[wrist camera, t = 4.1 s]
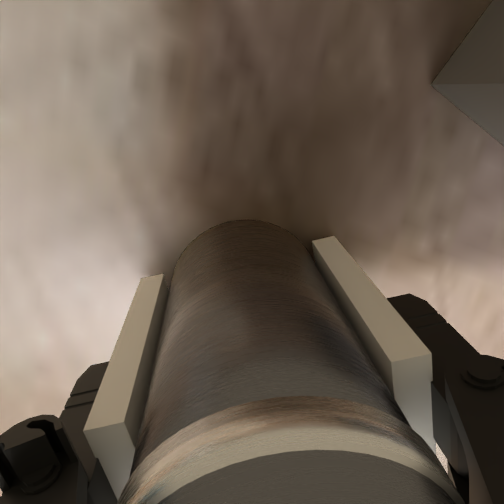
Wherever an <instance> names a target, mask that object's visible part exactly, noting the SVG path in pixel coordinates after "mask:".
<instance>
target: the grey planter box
mask: <svg viewBox="0 0 504 504" xmlns="http://www.w3.org/2000/svg"><path fill="white" fill-rule="evenodd" d="M431 86H433V87H434V88H435V89H436V90H437V91H438V92H440V93H441V94H442V95H443V96H444V97H446V98H447V99H448V100H449V101H450V102H452V103H453V104H454V105H455V106H456V107H458V108H459V109H460V110H461V111H462V112H464V113H465V114H466V115H467V116H468V117H470V118H471V119H472V120H473V121H474V122H476V123H477V124H478V125H479V126H480V127H482V128H483V129H484V130H485V131H486V132H488V133H489V134H490V135H491V136H492V137H493V138H495V139H496V140H497V141H498V142H499V143H501V144H502V145H503V146H504V0H493V1H492V2H491V4H490V5H489V6H488V8H487V9H486V10H485V12H484V13H483V14H482V16H481V17H480V18H479V20H478V21H477V23H476V24H475V25H474V27H473V28H472V29H471V31H470V32H469V33H468V35H467V36H466V37H465V39H464V40H463V42H462V43H461V44H460V46H459V47H458V48H457V50H456V51H455V52H454V54H453V55H452V56H451V58H450V59H449V60H448V62H447V63H446V65H445V66H444V67H443V69H442V70H441V71H440V73H439V74H438V75H437V77H436V78H435V79H434V81H433V82H432V84H431Z"/></svg>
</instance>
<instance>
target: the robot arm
mask: <svg viewBox="0 0 504 504" xmlns="http://www.w3.org/2000/svg"><path fill="white" fill-rule="evenodd" d="M312 245H313V252H314V258H315V264H316V266H317V268H318V269H319V271H320V273H321V275H322V276H323V278H324V280H325V281H326V283H327V285H328V286H329V288H330V290H331V292H332V293H333V295H334V297H335V298H336V300H337V302H338V303H339V305H340V307H341V309H342V310H343V312H344V314H345V315H346V317H347V319H348V320H349V322H350V324H351V326H352V327H353V329H354V331H355V332H356V334H357V336H358V337H359V339H360V341H361V343H362V344H363V346H364V348H365V349H366V351H367V353H368V354H369V356H370V358H371V360H372V361H373V363H374V365H375V366H376V368H377V370H378V371H379V373H380V375H381V377H382V378H383V380H384V382H385V383H386V385H387V387H388V388H389V390H390V392H391V394H392V395H393V397H394V399H395V400H396V402H397V404H398V405H399V407H400V409H401V411H402V412H403V414H404V416H405V417H406V419H407V421H408V422H409V424H410V426H411V428H412V429H413V430H414V431H415V432H416V433H418V434H419V435H420V436H421V437H422V438H423V439H424V440H425V442H426V443H427V444H428V445H429V446H430V448H431V449H432V450H433V451H434V453H435V455H436V442H437V444H438V446H439V447H440V449H441V450H442V452H443V453H444V455H445V457H446V458H447V461H448V476H449V478H450V479H451V481H452V483H453V484H454V486H455V488H456V489H457V491H458V492H459V494H460V496H461V497H462V499H463V501H464V502H465V504H504V360H503V359H500V358H496V357H492V356H488V355H480V354H479V353H478V352H477V351H476V350H475V349H474V348H473V347H472V346H471V345H470V344H469V343H468V342H467V341H466V340H465V339H464V338H463V337H462V336H461V335H460V334H459V333H458V332H457V331H456V330H455V329H454V328H453V327H452V326H451V325H450V324H449V323H447V322H446V320H445V319H444V318H443V317H442V316H441V315H440V314H438V313H437V311H436V310H435V309H434V308H433V307H432V306H431V305H430V304H429V303H428V302H427V301H425V300H423V299H421V298H418V297H416V296H414V295H412V294H405V295H400V296H396V297H391V298H387V299H386V298H385V296H384V295H383V294H382V293H381V292H380V290H379V289H378V288H377V287H376V286H375V284H374V283H373V282H372V281H371V280H370V278H369V277H368V276H367V275H366V274H365V272H364V271H363V270H362V269H361V268H360V266H359V265H358V264H357V263H356V261H355V260H354V259H353V258H352V257H351V255H350V254H349V253H348V252H347V251H346V249H345V248H344V247H343V246H342V245H341V243H340V242H339V241H338V240H337V239H336V237H335V236H331V237H327V238H322V239H318V240H313V241H312ZM168 296H169V289H168V286H167V283H166V280H165V276H164V274H159V275H154V276H150V277H145V278H141V280H140V282H139V285H138V288H137V290H136V293H135V296H134V298H133V301H132V303H131V306H130V309H129V311H128V314H127V317H126V319H125V322H124V324H123V327H122V330H121V332H120V335H119V338H118V340H117V343H116V345H115V348H114V351H113V353H112V356H111V359H110V361H109V362H104V363H100V364H95V365H91V366H90V367H89V368H88V369H87V370H86V371H85V372H84V373H83V374H82V375H81V376H80V377H79V379H78V380H77V381H76V384H75V386H74V388H73V390H72V392H71V394H70V396H71V397H70V398H69V399H68V401H67V403H66V405H65V410H63V411H62V414H61V416H60V418H57V417H56V416H54V415H40V416H36V417H32V418H29V419H26V420H24V421H22V422H20V423H18V424H16V425H14V426H13V427H11V428H10V429H9V430H7V431H6V432H4V433H3V434H2V435H0V488H1V490H2V492H3V493H2V496H1V497H0V504H117V502H118V500H119V497H120V495H121V492H122V490H123V488H124V486H125V485H126V483H127V482H128V480H129V477H130V472H131V467H132V463H133V458H134V453H135V449H136V444H137V439H138V435H139V430H140V426H141V421H142V416H143V412H144V407H145V402H146V398H147V393H148V389H149V384H150V379H151V375H152V370H153V365H154V361H155V356H156V351H157V347H158V342H159V338H160V333H161V328H162V324H163V319H164V314H165V310H166V305H167V300H168Z"/></svg>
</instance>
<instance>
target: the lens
mask: <svg viewBox="0 0 504 504" xmlns="http://www.w3.org/2000/svg"><path fill="white" fill-rule="evenodd" d="M117 504H465V502H464V501H463V499H462V497H461V496H460V494H459V492H458V491H457V489H456V488H455V486H454V484H453V483H452V481H451V479H450V478H449V476H448V474H447V473H446V471H445V469H444V468H443V466H442V465H441V463H440V461H439V460H438V458H437V456H436V455H435V453H434V451H433V450H432V449H431V448H430V446H429V445H428V444H427V443H426V442H425V440H424V439H423V438H422V437H421V436H420V435H419V434H418V433H416V432H415V431H414V430H413V429H412V428H411V426H410V424H409V422H408V421H407V419H406V417H405V416H404V414H403V412H402V411H401V409H400V407H399V405H398V404H397V402H396V400H395V399H394V397H393V395H392V394H391V392H390V390H389V388H388V387H387V385H386V383H385V382H384V380H383V378H382V377H381V375H380V373H379V371H378V370H377V368H376V366H375V365H374V363H373V361H372V360H371V358H370V356H369V354H368V353H367V351H366V349H365V348H364V346H363V344H362V343H361V341H360V339H359V337H358V336H357V334H356V332H355V331H354V329H353V327H352V326H351V324H350V322H349V320H348V319H347V317H346V315H345V314H344V312H343V310H342V309H341V307H340V305H339V303H338V302H337V300H336V298H335V297H334V295H333V293H332V292H331V290H330V288H329V286H328V285H327V283H326V281H325V280H324V278H323V276H322V275H321V273H320V271H319V269H318V268H317V266H316V264H315V263H314V261H313V259H312V258H311V256H310V254H309V252H308V251H307V249H306V248H305V247H304V245H303V244H302V243H301V242H300V241H299V240H298V239H297V238H296V237H295V236H293V235H292V234H291V233H289V232H288V231H286V230H284V229H282V228H281V227H279V226H276V225H273V224H271V223H267V222H263V221H256V220H237V221H231V222H227V223H223V224H220V225H217V226H215V227H213V228H210V229H209V230H207V231H205V232H204V233H202V234H201V235H199V236H198V237H197V238H196V239H194V240H193V241H192V242H191V243H190V244H189V245H188V246H187V248H186V249H185V250H184V252H183V253H182V254H181V256H180V258H179V260H178V262H177V264H176V267H175V269H174V273H173V277H172V282H171V287H170V291H169V296H168V300H167V305H166V310H165V314H164V319H163V324H162V328H161V333H160V338H159V342H158V347H157V351H156V356H155V361H154V365H153V370H152V375H151V379H150V384H149V389H148V393H147V398H146V402H145V407H144V412H143V416H142V421H141V426H140V430H139V435H138V439H137V444H136V449H135V453H134V458H133V463H132V467H131V472H130V477H129V480H128V482H127V483H126V485H125V486H124V488H123V490H122V492H121V495H120V497H119V500H118V502H117Z"/></svg>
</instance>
